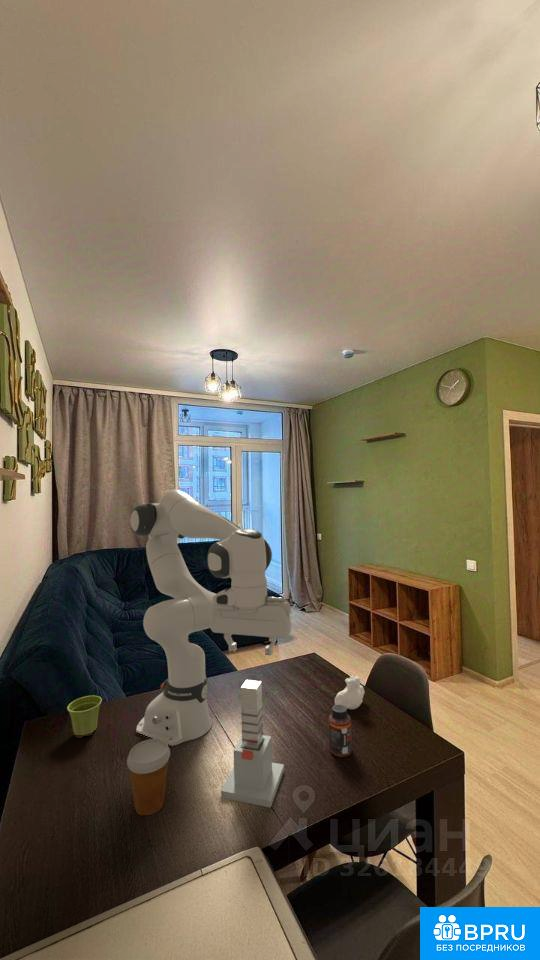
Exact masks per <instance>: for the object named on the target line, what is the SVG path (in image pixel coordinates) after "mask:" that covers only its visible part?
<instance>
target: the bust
mask: <svg viewBox="0 0 540 960" xmlns="http://www.w3.org/2000/svg"><path fill="white" fill-rule="evenodd" d="M344 682H345V683H346V687H345V688H344V689H343V690H340V691H339V692H337V694H336V696H335V697H334V705H343V706H345V707H346V708H347V710H348V709H349V710H356V709H358V708H359V707H360V706H361V704H362V703H363V698H364V695H365V688H364V686H363V685H362V684H361V678H360V675H354V674H353V675H350V676H349V678H348V677H346V678H345V679H344Z"/></svg>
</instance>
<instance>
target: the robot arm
mask: <svg viewBox="0 0 540 960" xmlns="http://www.w3.org/2000/svg"><path fill="white" fill-rule="evenodd" d="M129 521H130V529H131V530H132V532H133V533H134V534H135V535H136V536H139V537H148V536H149V538H148V540H147V541H146V544H145V545H146V546H145V551H146V558H147V563H148V567H149V570H150V572H151V576H152V578H153V582H154V584H155V587H156V590H158V591H159V592H160V593H161V594H164V595H166V596H169V597H171V598H172V599H167V600H163V601H160V602H159V603H156V604H154V605H151V606H150V607H148V608H147V610H146V611H145V613H144V616H143V625H142V626H143V630H144V632H145V634H146V636H147V637H148V638H149V639H151V640H152V641H154V642H156V643H157V644H159V646H161V648H162V649H163V650H164V652H165V653H164V654H165V656H166V662H167V674H168V676H167V677H168V678H166V679H165V680H164V682H163V683H162V684H160V690H162V689H163V691H162V692H161V693H159V694H158V695H157V696H155V698H153V699H152V700H151V702H150V703H149V704H148V705H147V707H146V709H145V712H144V717H142V719H140V721H139V722H138V724H137V725H136V727H135V728H136V729H135V730H136V731H135V732H138V733H140V734H143V735H145V736H148V737H151V738H153V739H161V740H164V741H165V742H166V743H167V744H169V745H168V746H170V745H171V746H172V747H174V745H175V746H178V745H179V744H181V743H184V742H189V741H192V740H195V739H198V738H200V737H202V736H204V735H205V734H207V733H208V732H209V731H210V729H211V728H212V725H213V723H212V718H211V716H210V715H211V714H210V710H209V706H208V705H209V704H208V699H207V697H208V679H207V678H208V677H207V675H206V654H205V652H204V649H203V648H201V646H199V645H198V644H195V643H191V642H190V641H189V636H190V634H192V633H196V632H201V631H204V630H207V629H210V630H211V632H212V633H216V634H223V638H224V640H225V641H226V644H227V645H228V652H233V653H235V652H236V651H237V650H238V648H237V642H235V641H234V640H233V637H232V635H239V636H240V635H241V636H248V637H249V636H250V637H251V636H252V637H262V638H263V637H264V638H268V641H269V642H270V644H268V645H266V646H265V648H264V651H265V653H264V655H265V656H272V655H273V652H274V645H275V643H276V641H277V640H278V639H286V638H287V637H289V636H290V634H291V632H292V624H291V617H290V615H291V611H292V609H291V608H292V607H291V606H292V605H291V603H290V601H289V600H287V599H285V597H283V596H282V597H281V596H280V597H275V596H268V580H267V577H266V571H267V569H268V568H269V566H270V565H271V562H272V559H273V553H272V548H271V546H270V545H269V543H268V541H267V540H266V539H265V538H264V536H263V534H262V533H261V532H260V531H259V530H256V529H250V528H242V527H240V526H238V524H236V523H234V522H233V521H232V520H230V519H229V518H227V517H225V516H223V515H221V514H219V513H217V512H215V511H213V510H211V509H209V508H208V507H206V506H205V505H203V504H202V503H200V502H199V501H198V500H197V499H196V498H194V497H193V496H192V495H190V494H188V493H187V492H185V491H182V490H181V489H171V490H169V491H167V492H166V493H165V494H163V495H162V497H161V499H160V502H158V503H157V502H156V503H152V502H149V503H142V504H140V505H136V506H135V507H134V509H132V510H131V513H130V519H129ZM178 538H179V539H180V540H183V539H184V538H189V539H214V540H219V541H217V542H214V543H213V544H211V545H210V547H209V549H208V551H207V555H206V565H207V566H206V567H207V569H208V571H209V573H211V575H213V576H214V577H215V578H217V579H227V578H228V579H229V578H230V579H231V583H230V585H231V587H228V588H225V589H223V590H221V591H219V592H217V593H215V592H212V591H210V590H209V589H206V588H205V587H203V586H202V585H201V584H199V583H198V581H196V580H195V578H194V577H193V576H192V574H191V572H190V571H189V568H188V567H187V565H186V561H185V560H184V557H183V555H182V552H181V550H180V547H179V546H178ZM145 736H144V737H145ZM148 737H147V738H148ZM151 738H150V739H151ZM171 746H170V747H171Z"/></svg>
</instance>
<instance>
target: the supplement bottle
mask: <svg viewBox="0 0 540 960" xmlns="http://www.w3.org/2000/svg"><path fill="white" fill-rule="evenodd" d="M328 735H329V737H328V738H329V750H330V752H331V754H332V755H334V756H336V757H339V758H346V757H348V756H350V755H351V753H352V750H353V745H352V720H351V716H350V715H349V714H348V709H347V708H346V707H345V706H343V705H335V704H334V705H333V706H332V707H331V714H329V716H328Z"/></svg>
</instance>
